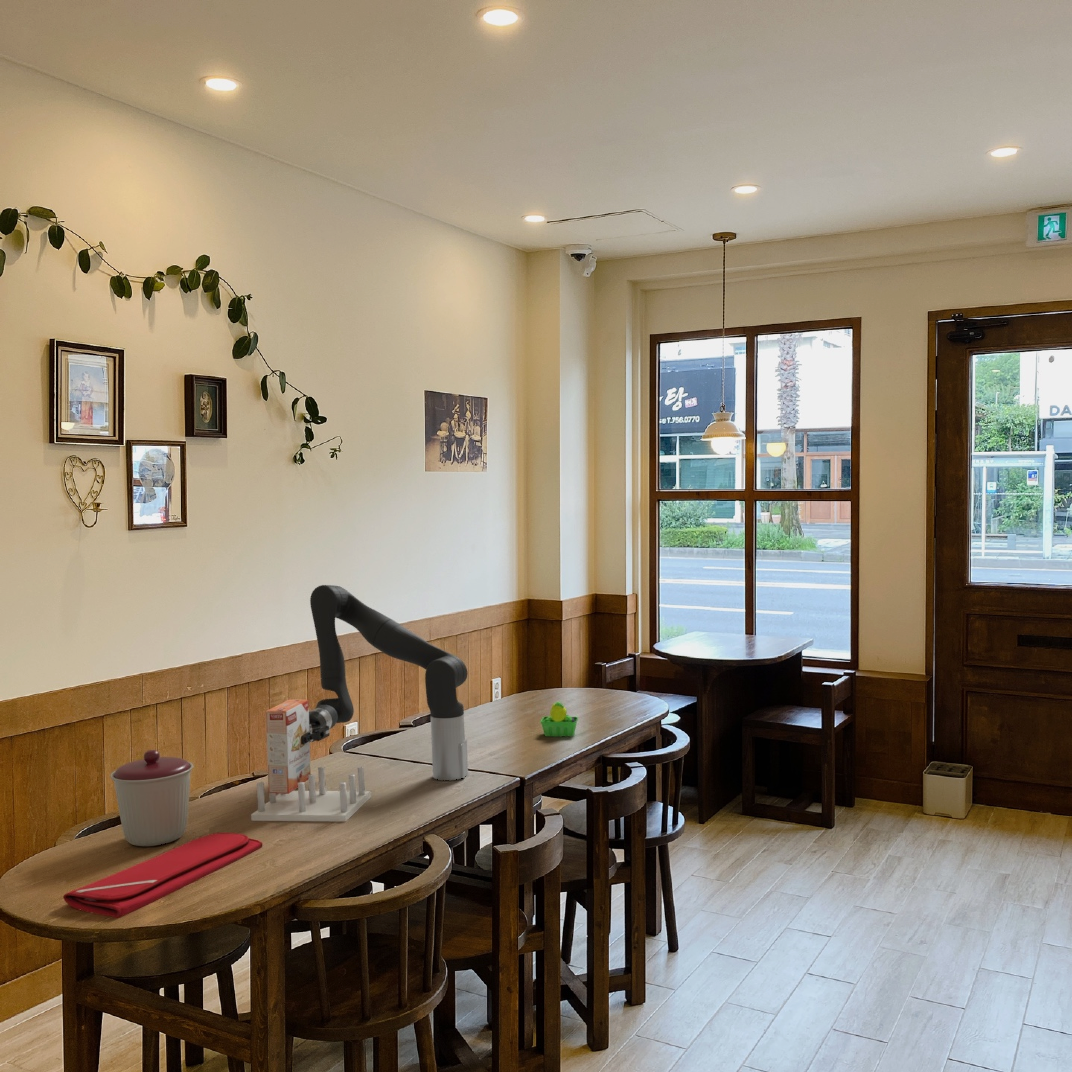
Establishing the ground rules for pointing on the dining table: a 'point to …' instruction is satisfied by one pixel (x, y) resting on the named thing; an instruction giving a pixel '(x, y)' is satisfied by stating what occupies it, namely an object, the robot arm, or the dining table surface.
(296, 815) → the dish rack
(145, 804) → the canister
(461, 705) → the robot arm
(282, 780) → the cracker box
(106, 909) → the dish drying mat
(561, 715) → the fruit basket
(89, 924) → the dining table surface
